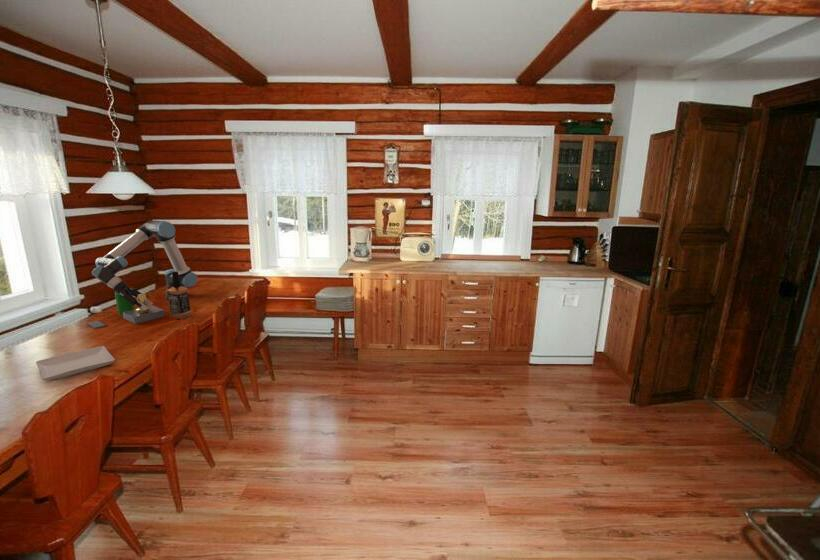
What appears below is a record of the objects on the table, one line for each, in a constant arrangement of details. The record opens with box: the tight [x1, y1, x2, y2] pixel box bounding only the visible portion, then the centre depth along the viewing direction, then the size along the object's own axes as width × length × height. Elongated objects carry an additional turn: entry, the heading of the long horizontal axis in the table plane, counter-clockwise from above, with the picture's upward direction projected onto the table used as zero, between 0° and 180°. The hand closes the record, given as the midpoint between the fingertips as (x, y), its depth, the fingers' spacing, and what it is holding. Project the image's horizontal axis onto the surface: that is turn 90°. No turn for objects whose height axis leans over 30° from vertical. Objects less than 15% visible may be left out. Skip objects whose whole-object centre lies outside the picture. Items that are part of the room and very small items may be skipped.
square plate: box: [35, 345, 116, 381], centre depth 194 cm, size 27×27×4 cm
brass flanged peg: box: [135, 293, 151, 313], centre depth 258 cm, size 8×8×15 cm
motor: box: [114, 291, 135, 316], centre depth 270 cm, size 10×9×20 cm
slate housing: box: [122, 304, 166, 325], centre depth 260 cm, size 18×18×6 cm
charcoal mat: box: [86, 319, 109, 330], centre depth 252 cm, size 14×14×1 cm
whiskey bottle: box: [166, 272, 193, 321], centre depth 261 cm, size 10×10×32 cm
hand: (148, 307), depth 259 cm, fingers closed on brass flanged peg, 7 cm apart
